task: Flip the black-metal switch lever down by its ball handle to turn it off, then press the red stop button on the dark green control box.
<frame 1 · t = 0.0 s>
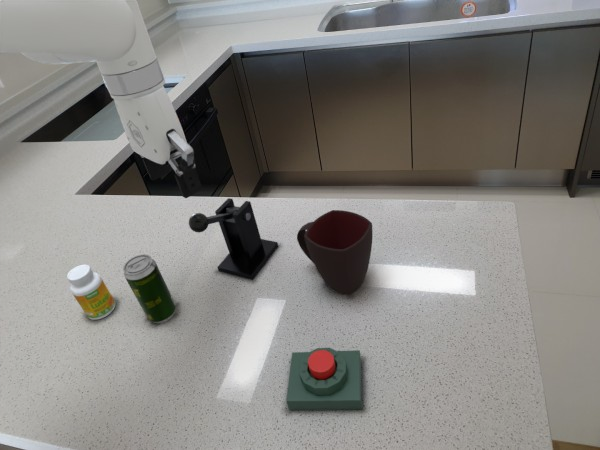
hand: (175, 184, 72), 23 cm above the table, tool pointing down, fingers open, 9 cm apart
stop button: (321, 364, 63), point 5 cm above the table, slide at 0.2 cm
control box: (326, 383, 66), on the table
cup: (337, 279, 82), on the table
supplement bottle: (102, 310, 87), on the table
switch lever: (217, 218, 80), point 13 cm above the table, hinge at 28.0°
beer can: (163, 314, 83), on the table
switch bracket: (249, 258, 91), on the table
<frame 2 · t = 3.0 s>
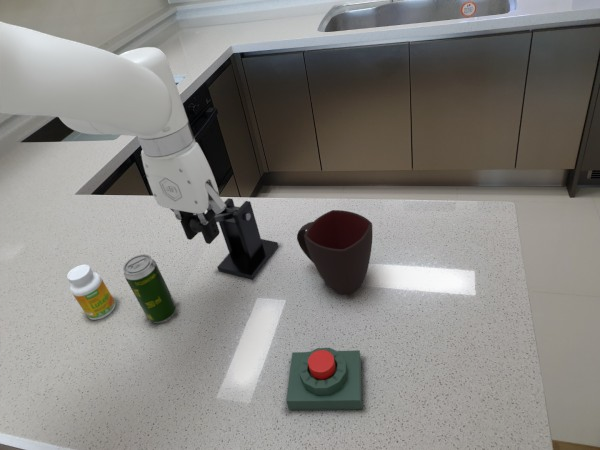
hand: (203, 235, 77), 13 cm above the table, tool pointing down, fingers closed on switch lever, 3 cm apart
switch lever: (217, 218, 80), point 13 cm above the table, hinge at 28.0°, touching gripper
everything else where it was.
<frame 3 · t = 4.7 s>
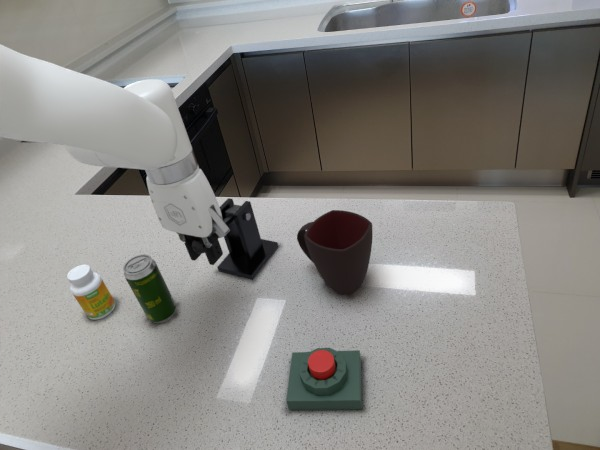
hand: (207, 256, 79), 9 cm above the table, tool pointing down, fingers closed on switch lever, 3 cm apart
switch lever: (218, 228, 81), point 12 cm above the table, hinge at 5.8°, touching gripper
everything else where it was.
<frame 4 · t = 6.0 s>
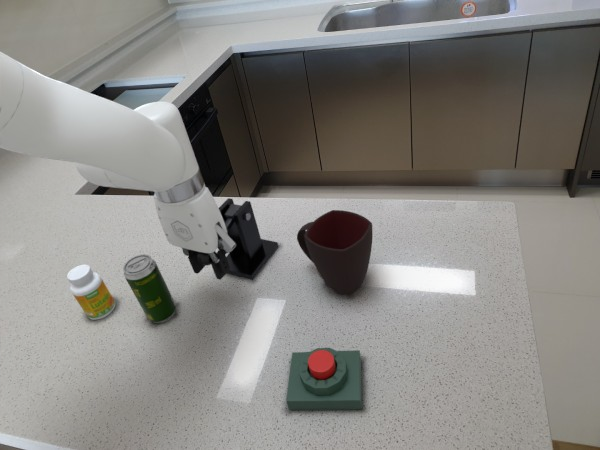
hand: (212, 270, 81), 6 cm above the table, tool pointing down, fingers open, 4 cm apart
switch lever: (221, 235, 82), point 10 cm above the table, hinge at -10.4°
everything else where it was.
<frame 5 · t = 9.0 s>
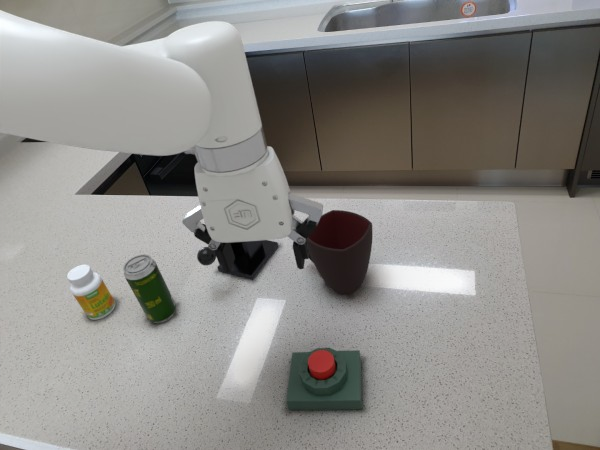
hand: (265, 263, 60), 19 cm above the table, tool pointing down, fingers open, 9 cm apart
nothing on the table moved.
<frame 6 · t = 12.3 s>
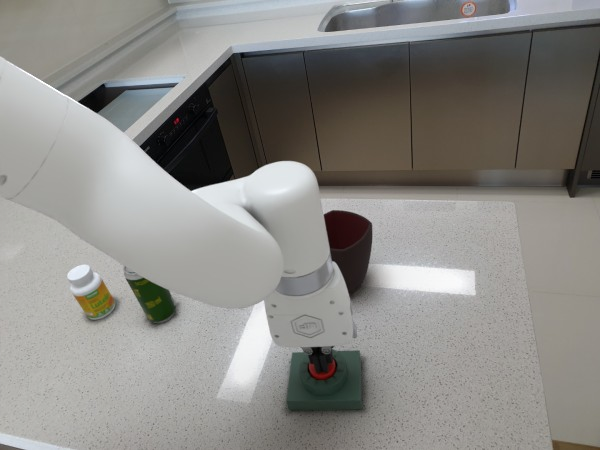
hand: (322, 363, 63), 5 cm above the table, tool pointing down, fingers closed
stop button: (322, 368, 64), point 4 cm above the table, slide at -0.7 cm, touching gripper
everything else where it was.
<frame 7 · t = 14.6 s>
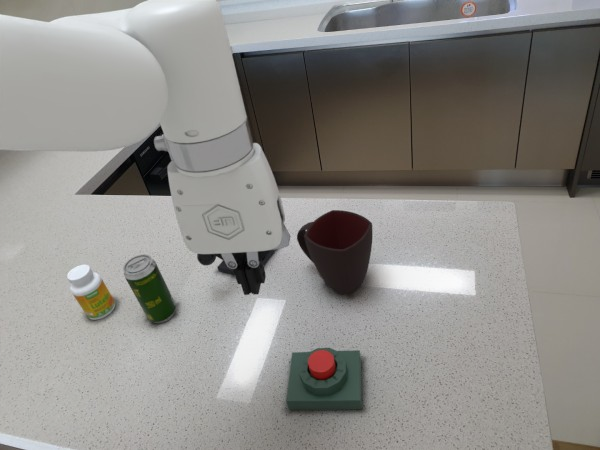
hand: (253, 285, 53), 21 cm above the table, tool pointing down, fingers closed
stop button: (321, 364, 63), point 5 cm above the table, slide at 0.1 cm
everything else where it was.
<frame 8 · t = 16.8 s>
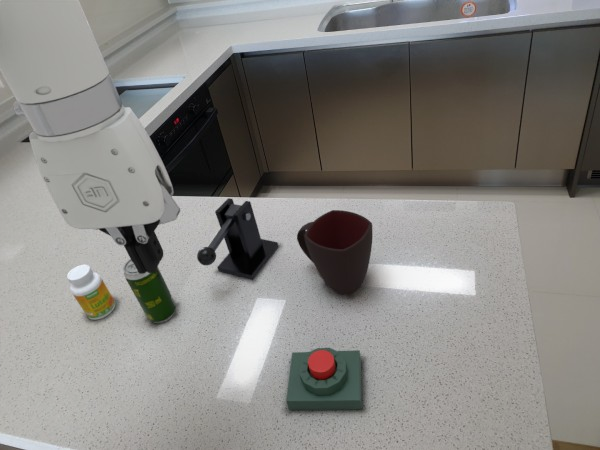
hand: (151, 264, 50), 27 cm above the table, tool pointing down, fingers closed
nothing on the table moved.
at the end: switch lever at -10° (first picture: +28°); stop button pushed in 1.1 cm at the most during the clip, back to where it started at the end; stop button slide at 0.1 cm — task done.
